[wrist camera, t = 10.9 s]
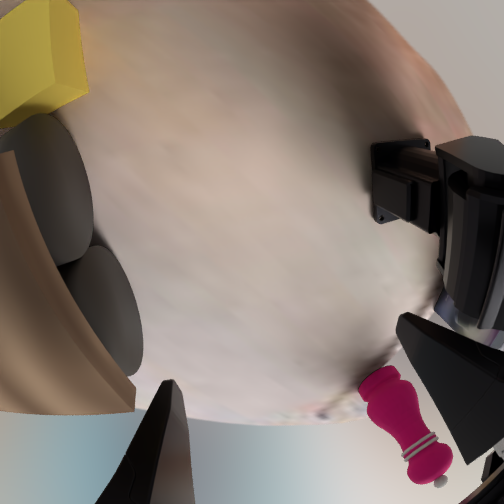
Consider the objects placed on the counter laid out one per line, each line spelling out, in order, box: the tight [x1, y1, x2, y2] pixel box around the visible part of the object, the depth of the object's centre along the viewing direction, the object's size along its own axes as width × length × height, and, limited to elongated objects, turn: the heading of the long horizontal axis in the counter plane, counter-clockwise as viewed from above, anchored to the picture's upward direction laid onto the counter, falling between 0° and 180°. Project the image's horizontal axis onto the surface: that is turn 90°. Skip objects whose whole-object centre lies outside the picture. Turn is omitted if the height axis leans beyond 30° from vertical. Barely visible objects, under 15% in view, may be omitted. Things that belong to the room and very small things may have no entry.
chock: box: [0, 0, 89, 129], centre depth 8 cm, size 5×7×5 cm
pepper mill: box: [359, 365, 453, 488], centre depth 24 cm, size 7×7×20 cm
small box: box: [434, 286, 504, 349], centre depth 22 cm, size 11×6×10 cm, turn 176°
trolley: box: [0, 113, 143, 415], centre depth 11 cm, size 13×16×10 cm
